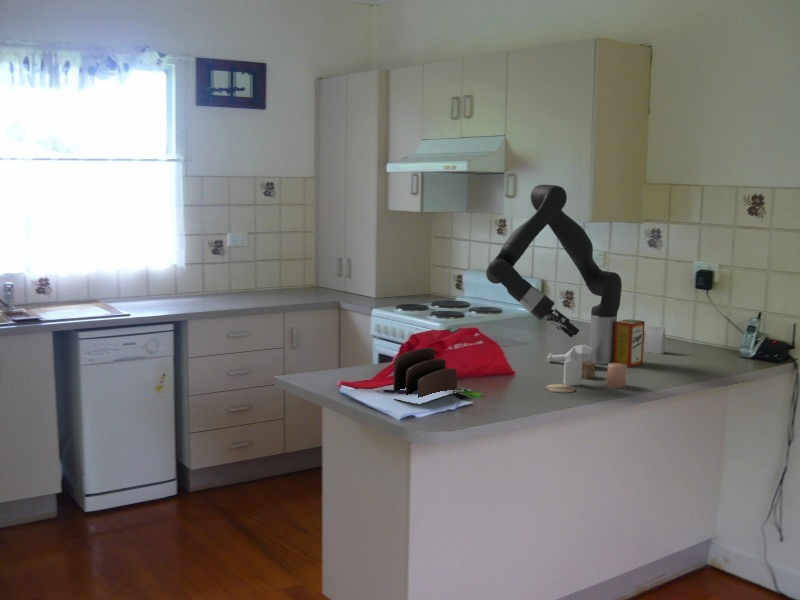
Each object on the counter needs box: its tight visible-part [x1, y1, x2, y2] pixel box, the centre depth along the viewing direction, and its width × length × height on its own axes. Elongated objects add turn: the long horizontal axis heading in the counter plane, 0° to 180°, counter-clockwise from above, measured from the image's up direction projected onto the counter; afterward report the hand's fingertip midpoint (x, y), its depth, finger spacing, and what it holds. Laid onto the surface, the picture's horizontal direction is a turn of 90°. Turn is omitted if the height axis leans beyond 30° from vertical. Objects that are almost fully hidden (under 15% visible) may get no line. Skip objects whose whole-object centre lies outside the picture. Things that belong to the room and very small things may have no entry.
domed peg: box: [606, 363, 628, 389], centre depth 283 cm, size 6×6×7 cm
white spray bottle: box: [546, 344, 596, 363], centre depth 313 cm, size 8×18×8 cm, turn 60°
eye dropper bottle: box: [563, 347, 583, 387], centre depth 284 cm, size 4×6×12 cm
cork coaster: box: [545, 383, 575, 394], centre depth 278 cm, size 9×9×1 cm
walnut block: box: [581, 360, 596, 380], centre depth 295 cm, size 5×5×5 cm
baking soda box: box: [613, 318, 645, 368], centre depth 316 cm, size 10×6×16 cm
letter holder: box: [392, 347, 458, 398], centre depth 266 cm, size 10×20×14 cm, turn 141°
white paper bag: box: [643, 325, 666, 355], centre depth 338 cm, size 4×7×10 cm, turn 52°
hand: (575, 334), depth 286 cm, fingers open, 8 cm apart
